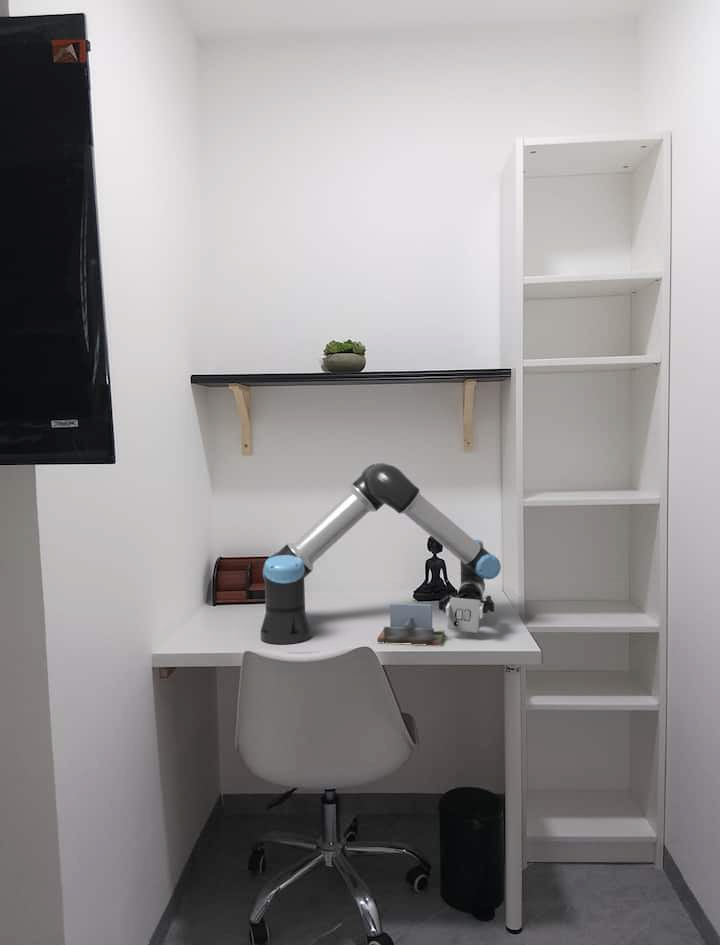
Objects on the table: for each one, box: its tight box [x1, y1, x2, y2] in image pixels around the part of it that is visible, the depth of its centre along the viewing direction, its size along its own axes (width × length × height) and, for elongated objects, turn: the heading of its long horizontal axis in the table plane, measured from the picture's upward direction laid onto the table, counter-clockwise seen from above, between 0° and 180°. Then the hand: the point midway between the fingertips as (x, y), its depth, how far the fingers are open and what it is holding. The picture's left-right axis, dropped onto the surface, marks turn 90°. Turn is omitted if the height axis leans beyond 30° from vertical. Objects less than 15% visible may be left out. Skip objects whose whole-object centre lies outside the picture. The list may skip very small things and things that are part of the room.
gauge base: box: [376, 626, 446, 646], centre depth 207 cm, size 18×10×4 cm, turn 77°
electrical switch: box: [447, 598, 481, 634], centre depth 209 cm, size 9×5×9 cm, turn 62°
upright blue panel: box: [389, 602, 443, 634], centre depth 203 cm, size 15×8×8 cm, turn 77°
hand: (463, 613), depth 204 cm, fingers closed on electrical switch, 9 cm apart
